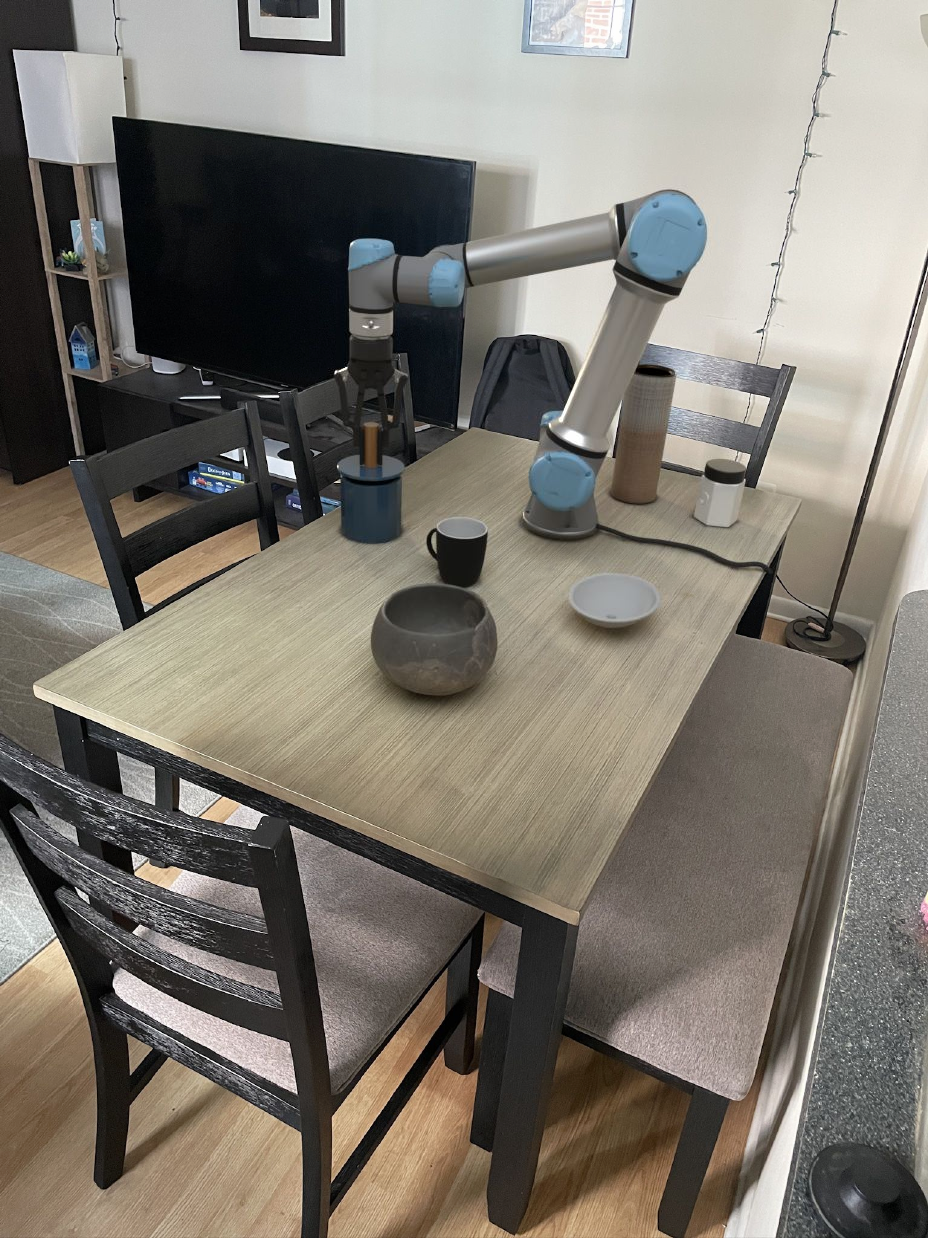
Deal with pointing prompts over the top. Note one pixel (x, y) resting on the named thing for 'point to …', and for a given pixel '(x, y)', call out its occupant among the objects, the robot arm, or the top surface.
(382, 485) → the blue cylindrical container
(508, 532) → the top surface
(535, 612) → the top surface
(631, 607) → the dish
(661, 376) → the vase
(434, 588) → the bowl
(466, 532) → the mug
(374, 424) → the lid
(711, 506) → the jar
